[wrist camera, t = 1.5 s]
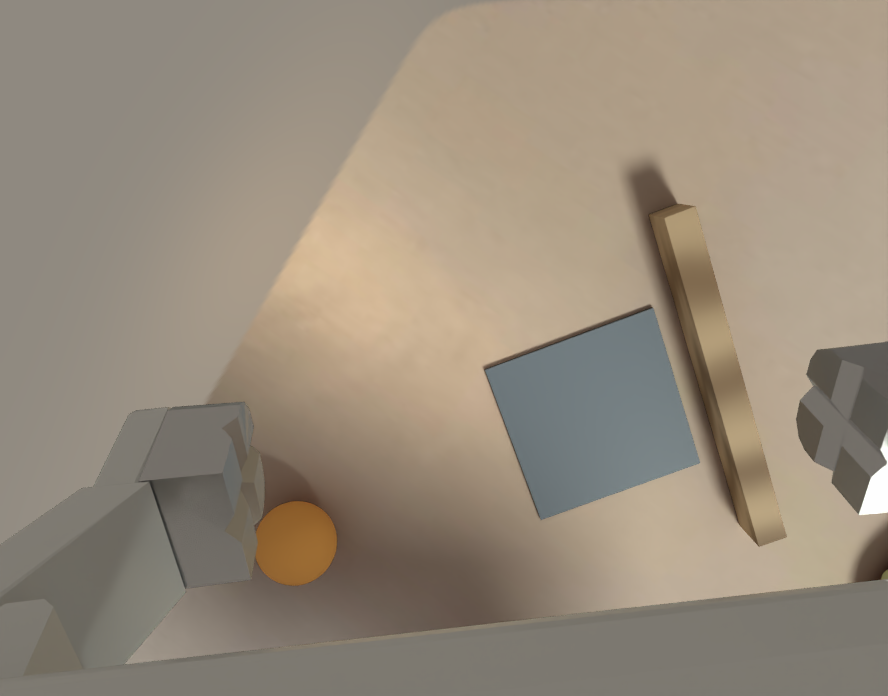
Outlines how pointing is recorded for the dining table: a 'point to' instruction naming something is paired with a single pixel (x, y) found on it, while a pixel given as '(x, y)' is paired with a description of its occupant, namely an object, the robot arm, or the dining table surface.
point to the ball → (295, 543)
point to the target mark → (594, 414)
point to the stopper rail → (717, 370)
